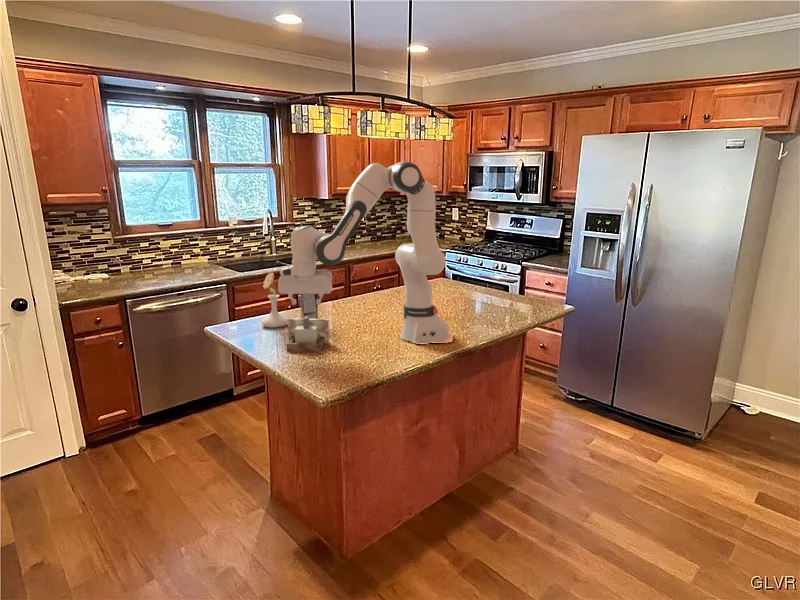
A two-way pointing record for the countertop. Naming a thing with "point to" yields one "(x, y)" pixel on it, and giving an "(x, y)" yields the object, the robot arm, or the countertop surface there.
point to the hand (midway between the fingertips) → (306, 304)
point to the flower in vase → (273, 306)
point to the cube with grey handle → (306, 332)
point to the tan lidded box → (308, 347)
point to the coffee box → (309, 306)
